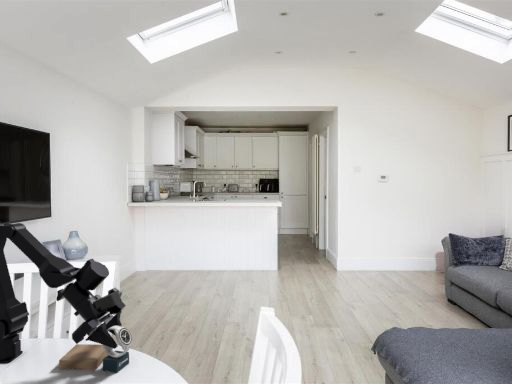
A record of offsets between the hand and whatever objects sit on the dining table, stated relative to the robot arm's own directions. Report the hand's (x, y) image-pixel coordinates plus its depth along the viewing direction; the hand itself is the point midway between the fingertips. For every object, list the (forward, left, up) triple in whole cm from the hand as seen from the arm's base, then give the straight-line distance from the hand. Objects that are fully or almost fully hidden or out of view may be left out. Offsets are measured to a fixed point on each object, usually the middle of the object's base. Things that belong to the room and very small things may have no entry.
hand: (121, 343), depth 107 cm
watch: (-1, 0, -7) cm, 7 cm away
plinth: (-11, +4, -7) cm, 14 cm away
